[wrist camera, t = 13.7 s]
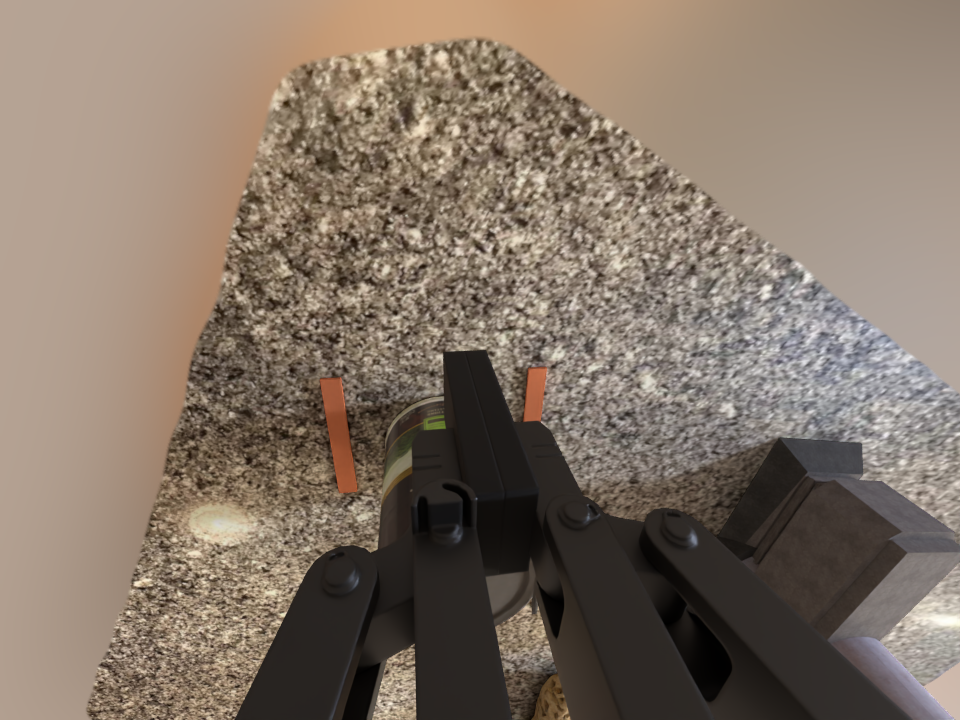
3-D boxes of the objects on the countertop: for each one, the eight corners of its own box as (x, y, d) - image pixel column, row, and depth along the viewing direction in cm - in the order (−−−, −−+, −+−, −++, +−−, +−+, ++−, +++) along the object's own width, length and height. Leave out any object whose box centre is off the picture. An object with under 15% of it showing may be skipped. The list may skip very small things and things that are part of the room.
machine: (752, 607, 60) (947, 863, 38) (658, 611, 56) (814, 897, 35) (875, 444, 47) (1268, 690, 26) (763, 436, 43) (1112, 715, 22)
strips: (320, 378, 32) (319, 380, 32) (545, 366, 35) (546, 368, 35) (339, 491, 38) (339, 493, 37) (533, 472, 41) (534, 475, 40)
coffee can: (391, 389, 34) (382, 527, 21) (508, 400, 36) (562, 531, 24) (377, 483, 38) (364, 644, 26) (483, 488, 40) (518, 637, 28)
